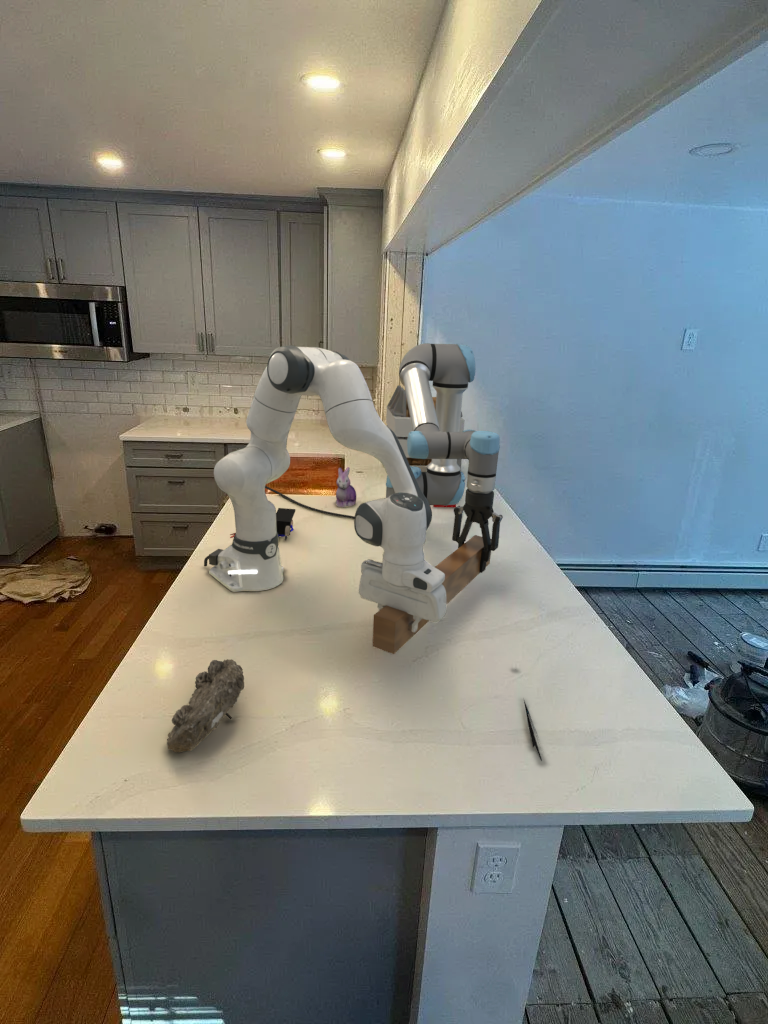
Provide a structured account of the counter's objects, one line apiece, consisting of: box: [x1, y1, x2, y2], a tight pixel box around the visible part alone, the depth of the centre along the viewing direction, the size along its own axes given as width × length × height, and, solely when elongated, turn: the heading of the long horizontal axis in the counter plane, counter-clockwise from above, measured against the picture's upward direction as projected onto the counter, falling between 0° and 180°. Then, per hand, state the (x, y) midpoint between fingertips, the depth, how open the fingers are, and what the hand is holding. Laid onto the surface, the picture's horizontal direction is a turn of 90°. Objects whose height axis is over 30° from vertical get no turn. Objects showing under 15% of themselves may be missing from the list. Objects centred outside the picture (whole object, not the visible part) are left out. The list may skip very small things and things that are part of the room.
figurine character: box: [276, 507, 296, 541], centre depth 193 cm, size 7×8×15 cm
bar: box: [372, 534, 492, 655], centre depth 142 cm, size 55×5×8 cm, turn 149°
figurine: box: [335, 466, 357, 508], centre depth 225 cm, size 9×10×15 cm
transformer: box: [385, 384, 465, 472], centre depth 268 cm, size 34×33×41 cm
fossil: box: [166, 658, 245, 754], centre depth 106 cm, size 22×10×15 cm
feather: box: [514, 668, 543, 762], centre depth 113 cm, size 2×28×2 cm
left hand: (399, 625), depth 125 cm, fingers closed on bar, 5 cm apart
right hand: (472, 568), depth 160 cm, fingers closed on bar, 5 cm apart
